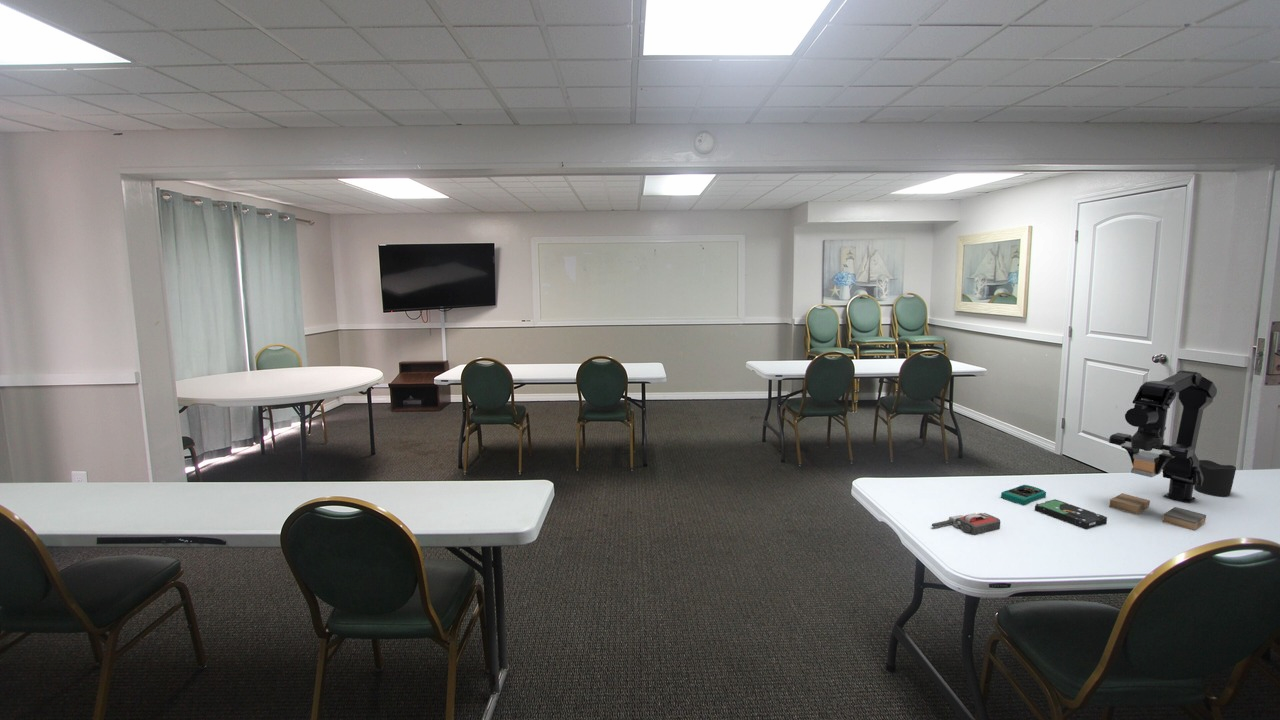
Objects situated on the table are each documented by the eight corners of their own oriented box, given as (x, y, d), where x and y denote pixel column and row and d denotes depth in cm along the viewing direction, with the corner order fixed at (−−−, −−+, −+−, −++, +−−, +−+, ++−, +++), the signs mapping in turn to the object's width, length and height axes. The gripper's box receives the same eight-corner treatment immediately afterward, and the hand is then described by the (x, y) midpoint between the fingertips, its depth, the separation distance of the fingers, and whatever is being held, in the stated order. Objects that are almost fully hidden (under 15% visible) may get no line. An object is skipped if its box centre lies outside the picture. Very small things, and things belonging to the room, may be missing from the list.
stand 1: (1121, 500, 184) (1122, 493, 183) (1148, 507, 178) (1149, 500, 177) (1109, 506, 178) (1110, 499, 178) (1137, 514, 173) (1138, 506, 172)
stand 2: (1173, 514, 173) (1175, 506, 172) (1205, 522, 167) (1206, 514, 167) (1162, 521, 168) (1163, 513, 167) (1194, 530, 162) (1195, 522, 161)
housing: (1139, 468, 178) (1142, 450, 177) (1160, 473, 174) (1163, 454, 173) (1131, 472, 174) (1133, 454, 173) (1151, 477, 170) (1154, 458, 169)
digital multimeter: (1046, 498, 187) (1047, 489, 186) (1023, 507, 179) (1024, 498, 179) (1023, 491, 193) (1023, 483, 192) (999, 499, 186) (1000, 490, 185)
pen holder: (1217, 488, 195) (1222, 461, 193) (1239, 498, 186) (1244, 469, 184) (1185, 486, 197) (1189, 458, 195) (1205, 496, 188) (1210, 467, 186)
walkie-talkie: (976, 517, 171) (928, 528, 163) (978, 504, 170) (930, 514, 163) (1004, 529, 163) (955, 541, 155) (1006, 515, 162) (956, 526, 155)
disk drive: (1106, 525, 166) (1053, 506, 180) (1108, 516, 166) (1055, 498, 179) (1085, 531, 162) (1033, 511, 176) (1087, 522, 162) (1034, 503, 175)
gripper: (1104, 419, 175) (1098, 467, 178) (1183, 434, 160) (1176, 485, 162) (1119, 415, 181) (1113, 461, 183) (1197, 428, 165) (1189, 478, 168)
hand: (1146, 471), depth 174 cm, fingers closed on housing, 5 cm apart
